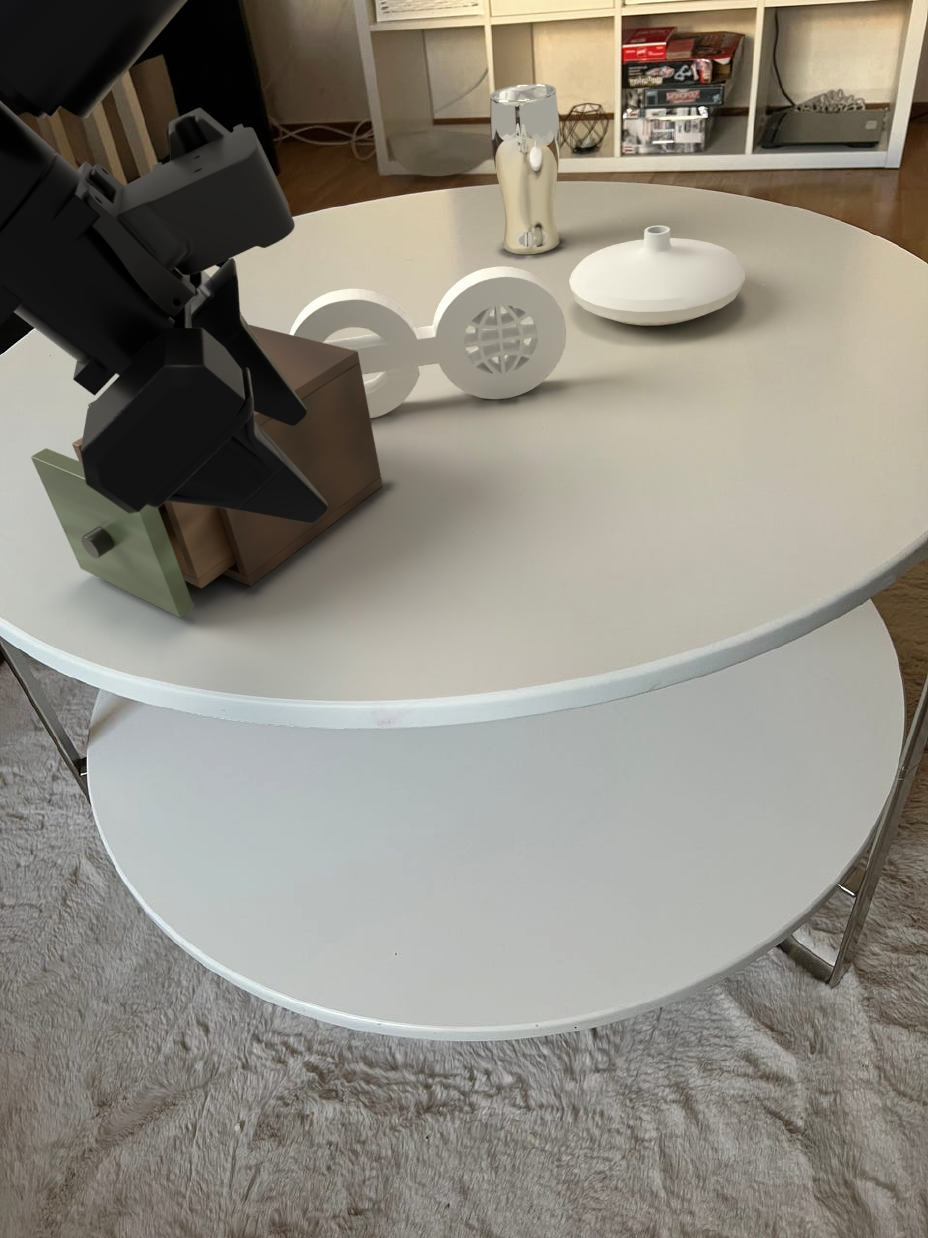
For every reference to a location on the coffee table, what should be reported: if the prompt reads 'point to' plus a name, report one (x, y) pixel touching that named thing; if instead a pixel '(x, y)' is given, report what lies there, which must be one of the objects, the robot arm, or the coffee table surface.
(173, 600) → the drawer
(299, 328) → the white flat cutout piece
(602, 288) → the vase
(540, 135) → the beer glass
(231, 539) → the cabinet
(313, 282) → the coffee table surface
